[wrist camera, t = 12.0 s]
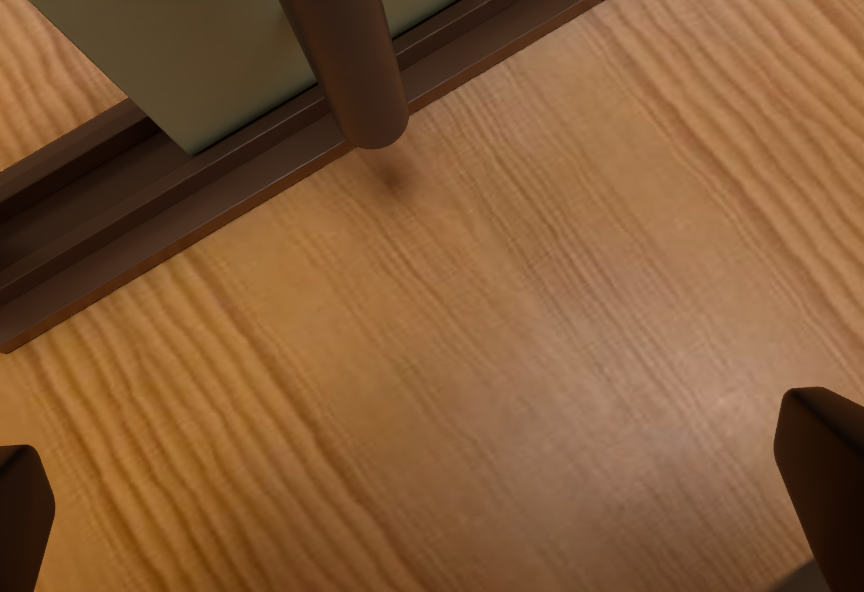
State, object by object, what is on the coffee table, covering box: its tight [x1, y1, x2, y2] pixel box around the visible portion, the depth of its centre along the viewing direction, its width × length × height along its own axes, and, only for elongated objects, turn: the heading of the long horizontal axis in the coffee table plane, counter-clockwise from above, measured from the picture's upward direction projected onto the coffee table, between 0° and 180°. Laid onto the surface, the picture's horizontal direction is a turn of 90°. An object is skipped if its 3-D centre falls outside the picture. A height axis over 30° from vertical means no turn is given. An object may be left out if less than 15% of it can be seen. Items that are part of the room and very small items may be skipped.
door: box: [29, 0, 457, 157], centre depth 18 cm, size 6×10×12 cm, turn 121°
